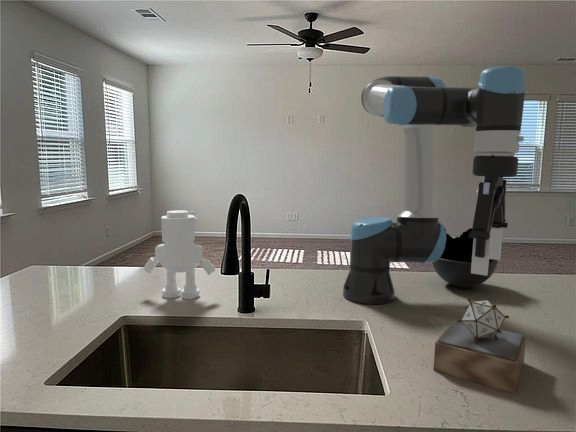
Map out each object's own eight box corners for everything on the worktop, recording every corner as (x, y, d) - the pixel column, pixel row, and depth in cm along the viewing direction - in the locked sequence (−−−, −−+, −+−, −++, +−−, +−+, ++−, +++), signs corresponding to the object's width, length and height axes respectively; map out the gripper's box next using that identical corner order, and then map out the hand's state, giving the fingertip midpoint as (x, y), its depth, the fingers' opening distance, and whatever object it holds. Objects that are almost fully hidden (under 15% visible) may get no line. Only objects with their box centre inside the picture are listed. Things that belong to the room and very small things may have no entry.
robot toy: (221, 291, 130) (220, 210, 127) (210, 303, 119) (209, 215, 115) (152, 288, 132) (150, 208, 129) (135, 300, 121) (132, 213, 118)
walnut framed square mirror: (433, 370, 83) (435, 340, 82) (452, 344, 94) (453, 318, 93) (514, 393, 75) (517, 361, 74) (523, 362, 86) (526, 334, 85)
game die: (490, 359, 82) (518, 332, 76) (448, 340, 84) (473, 312, 77) (491, 324, 89) (517, 296, 82) (452, 307, 90) (475, 279, 83)
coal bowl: (505, 286, 138) (509, 229, 136) (480, 300, 124) (485, 237, 122) (446, 274, 152) (449, 222, 150) (417, 285, 138) (420, 228, 136)
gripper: (508, 155, 67) (496, 285, 70) (526, 155, 87) (517, 256, 90) (458, 154, 71) (449, 277, 74) (486, 154, 91) (479, 251, 94)
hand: (486, 266), depth 82 cm, fingers open, 13 cm apart
